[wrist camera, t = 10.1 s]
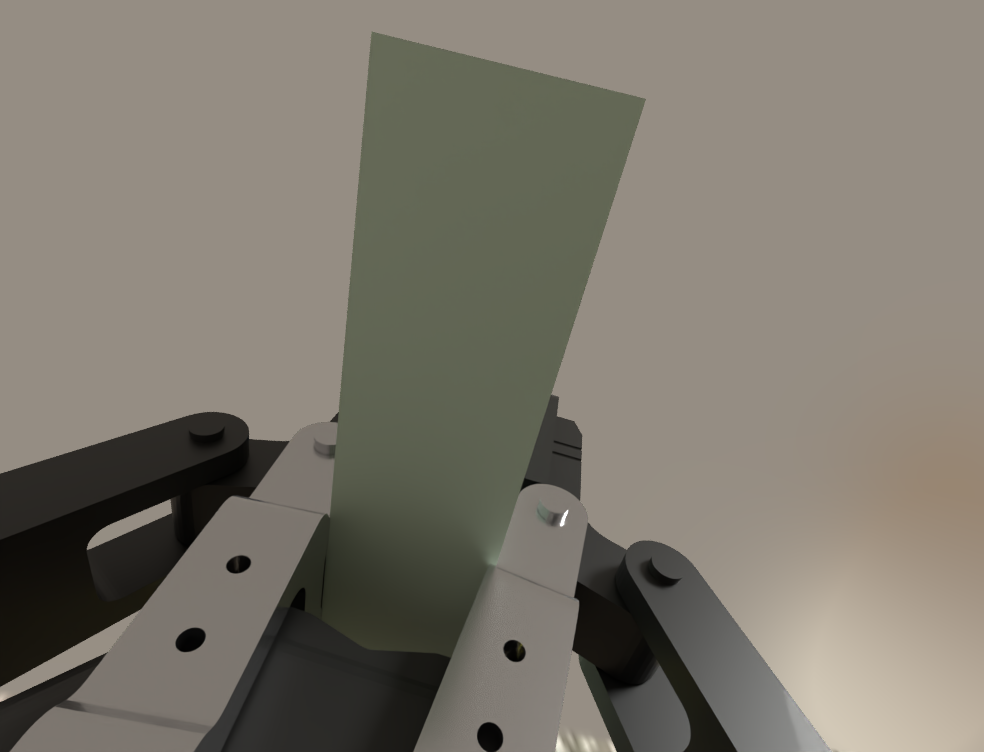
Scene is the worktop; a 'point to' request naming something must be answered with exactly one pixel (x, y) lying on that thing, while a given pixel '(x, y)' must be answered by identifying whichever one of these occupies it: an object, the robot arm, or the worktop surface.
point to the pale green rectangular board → (456, 323)
